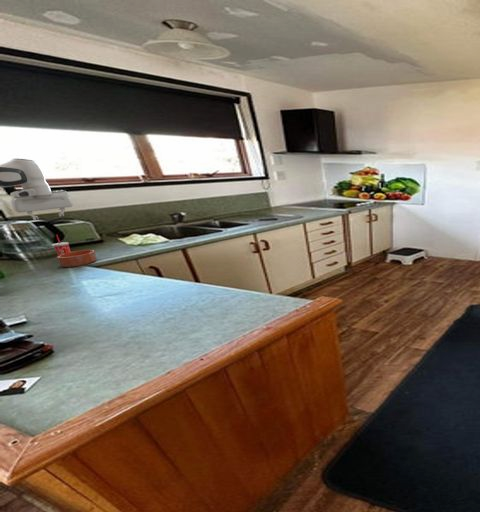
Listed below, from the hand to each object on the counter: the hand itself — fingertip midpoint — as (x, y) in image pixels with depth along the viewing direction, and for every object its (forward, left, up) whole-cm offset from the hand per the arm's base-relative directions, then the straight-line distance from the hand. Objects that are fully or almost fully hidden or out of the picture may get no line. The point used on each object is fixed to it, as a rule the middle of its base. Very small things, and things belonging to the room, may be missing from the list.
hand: (49, 218), depth 145 cm
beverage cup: (0, 0, -23) cm, 23 cm away
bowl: (+8, -16, -23) cm, 29 cm away
